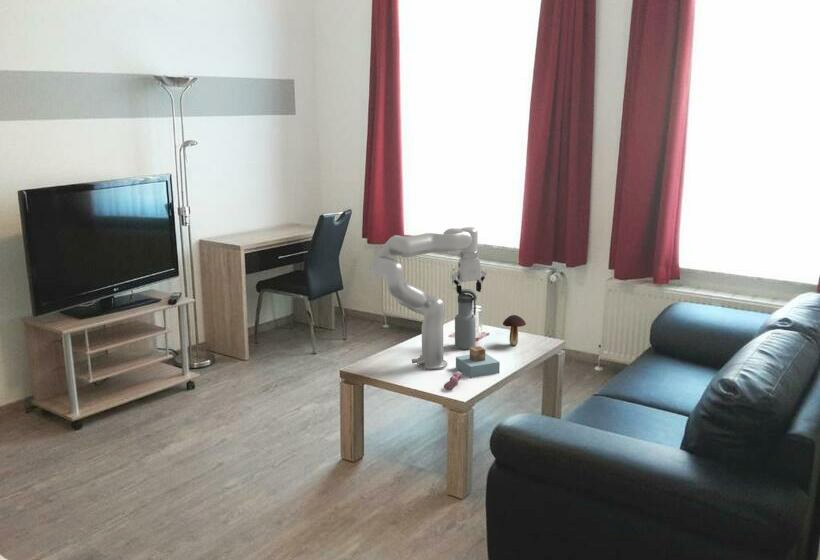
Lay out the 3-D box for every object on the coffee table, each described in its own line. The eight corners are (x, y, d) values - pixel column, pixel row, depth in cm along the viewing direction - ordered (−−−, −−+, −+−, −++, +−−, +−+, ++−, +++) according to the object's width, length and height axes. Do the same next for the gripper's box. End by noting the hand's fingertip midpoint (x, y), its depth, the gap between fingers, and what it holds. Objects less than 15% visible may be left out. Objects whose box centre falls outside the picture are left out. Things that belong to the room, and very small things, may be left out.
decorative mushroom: (498, 346, 353) (498, 316, 350) (508, 340, 362) (509, 310, 359) (519, 350, 348) (520, 319, 344) (529, 343, 356) (530, 313, 353)
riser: (470, 377, 313) (470, 366, 312) (455, 367, 326) (455, 356, 325) (499, 372, 319) (499, 362, 318) (483, 362, 331) (484, 352, 330)
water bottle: (476, 343, 358) (477, 287, 351) (475, 350, 348) (475, 292, 342) (455, 343, 359) (455, 287, 353) (454, 349, 350) (453, 292, 344)
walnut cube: (475, 362, 318) (475, 350, 317) (469, 358, 322) (469, 347, 321) (485, 360, 320) (485, 349, 319) (479, 356, 324) (479, 346, 323)
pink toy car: (451, 394, 301) (459, 380, 298) (442, 388, 302) (449, 374, 299) (458, 385, 310) (466, 372, 307) (449, 379, 311) (456, 366, 308)
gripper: (455, 258, 323) (455, 296, 327) (490, 255, 329) (489, 292, 333) (447, 255, 330) (447, 292, 334) (482, 252, 336) (481, 288, 340)
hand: (468, 292), depth 333 cm, fingers open, 9 cm apart
